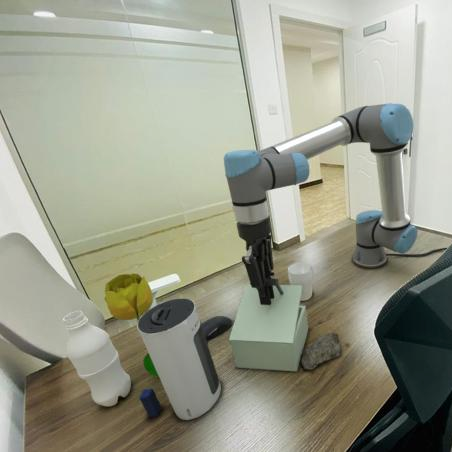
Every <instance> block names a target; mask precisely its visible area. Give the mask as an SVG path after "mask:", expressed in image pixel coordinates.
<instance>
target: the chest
mask: <svg viewBox="0 0 452 452" xmlns="http://www.w3.org/2000/svg"><path fill="white" fill-rule="evenodd" d="M308 332H309V324H308V315H307V307H306V305H300V306H299V312H298V318H297V325H296V331H295V337H294V343H293V344H284V343H265V342H246V341H230V340H229V342H230V347H231V351H232V354H233V358H234V361H235V365H236V368H237V369H253V370H269V371H284V372H298V369H299V366H300V363H301V360H302V357H301V354H302V353H303V351H304V347H305V344H306V339H307V337H308V336H307V335H308Z"/></svg>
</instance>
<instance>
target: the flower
mask: <svg viewBox="0 0 452 452" xmlns="http://www.w3.org/2000/svg"><path fill="white" fill-rule="evenodd" d="M104 293H105V297H104V301H105V303H106V306H107V308H108V311H109V313H110V315H111V316H112V317H113V318H114V319H116V320H120V321H131V320H134V319H136V320H137V322H138V321H139V319H140V318H141V317H142V315H143V314H144V313H146V312H147V311H148V310H150V309H151V308H152V305H153V303H154V297H153V292H152V288H151V286H150V284H149V282H148V281H147V279H146V277H145V275H142V276H141V275H140V274H139V273H125V274H123V273H122V274H118V275H117V276H115V277H114V278H112V279H110V280H109V281H108V282H107V283H105V286H104ZM142 363H143V367H144V370H145V371H146V372H148V373H149V374H150V375H151V376H153V377H159V376H158V373H157V371H156V369H155V366H154V364H153V362H152V360H151V357H150V355H149V353H148V352H147V353H146V354H145V356H144V358H143V360H142Z"/></svg>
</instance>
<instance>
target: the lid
mask: <svg viewBox="0 0 452 452" xmlns="http://www.w3.org/2000/svg"><path fill="white" fill-rule="evenodd" d="M265 279H266V283H268V286H273V291H274V299H271V305H261V304H260V299H259V294H258V289H257V288H252V286H251V283H250V282H249V283H246V284H245V287H244V290H243V293H242V296H241V299H240V304H239V306H238V310H237V311H236V312H237V313H236V316H235V319H234V323H233V326H232V329H231V332H230V336H229V339H228V340H229V342H230V341H246V342H265V343H284V344H293V343H294V337H295V331H296V325H297V318H298V312H299V306H301V301H300V300H301V293H302V286H301V285H291V284H279V279H278V278H272V277H271V278H265Z"/></svg>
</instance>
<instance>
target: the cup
mask: <svg viewBox="0 0 452 452" xmlns="http://www.w3.org/2000/svg"><path fill="white" fill-rule="evenodd" d="M287 275H288V280H289V285H301V286H302V293H301V300H300V302H305V301H308V300H310V299H311V298H312V296H313V289H314V288H313V287H314V269H313V265H312V264H311V263H310V262H307V261H297V262H294V263H292V264H290V265H289V266H288V268H287Z"/></svg>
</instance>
